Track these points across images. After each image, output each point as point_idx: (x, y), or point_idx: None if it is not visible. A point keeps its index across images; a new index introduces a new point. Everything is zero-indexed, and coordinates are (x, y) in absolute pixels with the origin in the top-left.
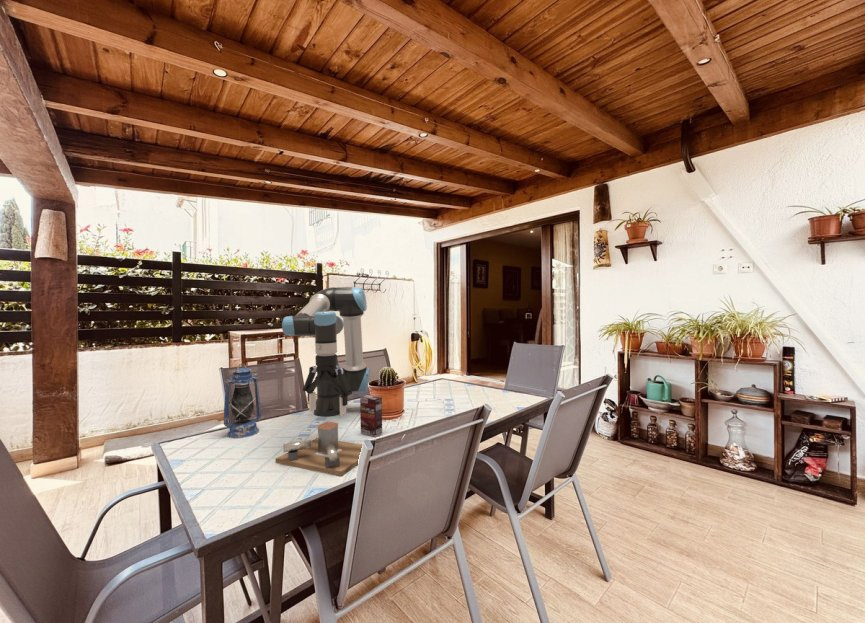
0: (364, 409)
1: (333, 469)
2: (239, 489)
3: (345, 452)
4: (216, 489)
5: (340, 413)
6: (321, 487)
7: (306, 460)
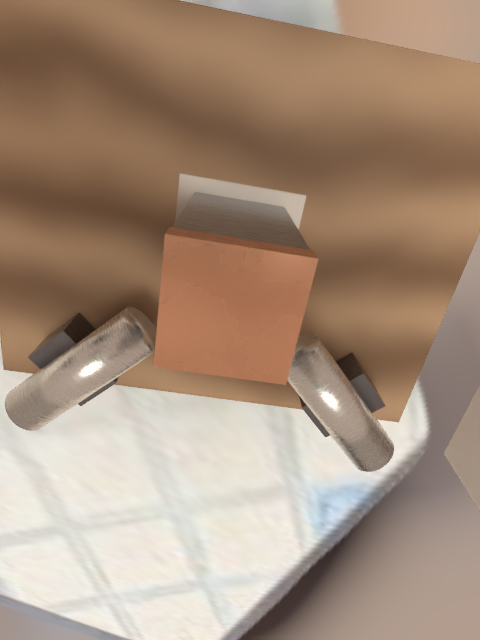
0: None
1: None
2: (79, 535)
3: (341, 222)
4: (8, 546)
5: (466, 475)
6: (346, 484)
7: None
